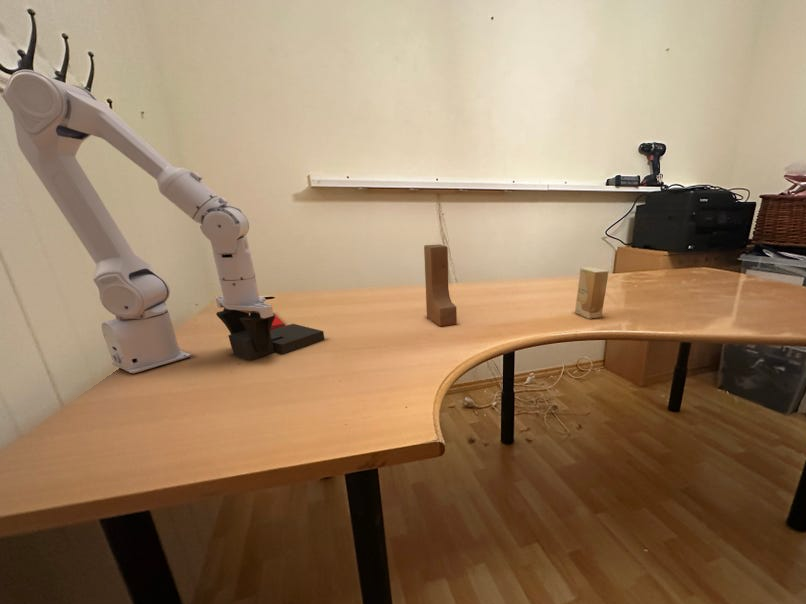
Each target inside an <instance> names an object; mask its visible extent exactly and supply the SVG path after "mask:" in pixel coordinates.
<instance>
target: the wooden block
mask: <svg viewBox="0 0 806 604" xmlns="http://www.w3.org/2000/svg"><path fill="white" fill-rule="evenodd" d="M448 250H449V248H448V246H447V245H443V244H425V245H424V246H423V254H424V256H423V257H424V277H425V280H424V281H425V304H426V317H427V318H428V319H429V320H431V321H432V322H434V323H435V324H437V325H438V326H439V327H444V326H451V325H453V326H454V325H457V320H458V319H457V316H458V315H457V306H456V305H455V303H453V302H452V298H451V296H450V290H449V253H448V252H449V251H448Z"/></svg>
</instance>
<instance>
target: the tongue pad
mask: <svg viewBox="0 0 806 604" xmlns="http://www.w3.org/2000/svg"><path fill="white" fill-rule="evenodd" d="M228 339H229V344H230V347H231V352H232V354H233V355H234V356H237V357H239V358H243V359H244V360H248V361H253V360H256V359H258V358H261V357H264V356H266V355H269V354H272V353H275V351H274V348H273V343H272V341H275V340H278V339H281V338H280V336H277V335H273V334H272V335H271V334H269V344H268V350H265V351H262V352H259V353H258V352H256V351H255V349H254V346H253V344H252V341H251V338H250V335H249V333H248V331H247V330H244V331H241V332H238V333H234V334H231V333H230V334H228Z"/></svg>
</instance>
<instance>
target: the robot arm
mask: <svg viewBox="0 0 806 604" xmlns="http://www.w3.org/2000/svg"><path fill="white" fill-rule="evenodd" d="M1 98H2V99H3V100H4V102H5V104H6V106H7V107H8V108H9V110H10V112H11V113H12V117H13V118H12V119H13V123H14V129H15V134H16V140H17V145H18V147H19V149H20V151H21V153H22V155H23V156H24V158H25V159H26V161H27V163H29V165H30V167H31V168H32V170H33V171H34V173H35V174H36V176H37V178H38V179H39V180H40V182H41V184H42V185H43V187H44V188H45V189H46V191H47V193H48V194H49V195H50V197H51V198H52V200H53V201H54V203H55V204H56V206H57V208H58V209H59V210H60V212H61V214H62V215H63V216H64V218H65V219H66V221H67V223H68V225H69V226H70V227H71V228H72V230H73V232H74V233H75V235H76V236H77V238H78V240H80V242H81V244H82V245H83V247H84V248H85V250H86V252H87V253H88V254H89V256H90V257H91V259H92V260H93V262H94V263H95V269H94V272H93V277H92V280H93V282H94V284H95V285H96V287H97V288H98V292H99V300H100V303H101V305H102V306H103V308H105V310H107V311H108V312H109V313H111V314H112V315H113V316H115V318H113V319H110V320H106V321H103V322H102V323H101V331H102V334H103V338H104V341H105V344H106V346H107V348H108V352H109V354H110V358H111V361H112V362H111V363H112V365H113V366H114V367H117V368H119V369H122V370H123V371H126V372H128V373H129V374H136V373H140V372H143V371H147V370H151V369H153V368H157V367H160V366H164V365H167V364H171V363H174V362H177V361H181V360H185V359H187V358H191V357H192V354H191V353H189V352H186V351H184V350H180V347H179V342H178V338H177V336H176V333H175V329H174V326H173V323H172V322H173V321H172V319H171V315H170V311H169V309H168V306H167V303H166V302H167V301H168V299H169V298H170V293H171V289H170V286H169V284H168V283H167V281H166V279H165V278H163V277H162V276H161V275H159V274H158V273H157V272H155V270H154V269H153V268H152V266H151V264H150V263H149V262H147V261H146V260H145V259H143V258H141V257H139V256H138V255H137V254H135V252H134V251H133V249H132V248H131V245H130V244H129V243H128V241H127V239H126V238H125V236H124V234H123V233H122V231H121V230H120V228H119V226H118V225H117V222H116V221H115V220H114V218H113V217H112V215H111V213H110V212H109V210H108V209H107V207H106V205H105V204H104V202H103V200H102V199H101V197H100V196H99V194H98V192H97V190H96V189H95V187H94V186H93V184H92V182H91V181H90V179H89V177H88V176H87V174H86V173H85V171H84V169H83V167H82V166H81V164H80V163H79V162H78V161H79V160H77V158H76V155H77V153H78V151H79V149H80V147H81V145H82V144H83V143H84V142H85V141H86V140H88V138H90V137H91V136H93V137H96V138H100V139H102V140H104V141H105V142H106V143H108V144H109V145H110V146H112V147H113V148H115V149H116V150H117V151H118V152H120V153H121V154H122V155H123V156H125V157H126V158H128V159H129V160H130V161H131V162H132V163H134V164H135V165H137V167H139V168H140V169H142V171H144V172H146V174H148V175H149V176H150V177H152V178H154V180H155V181H156V182H157V186H158V191H159V193H160V194H161V195H162V196H164V197H165V198H166V199H167V200H168V201H170V202H171V203H172V204H174V206H176V207H177V208H178V209H180V211H182V212H183V213H184V214H185V215H187V216H188V217H189V218H191V220H193V221H194V222H195V223H196V224H197V223H198V224H200V225H199V228H200V231H201V233H202V234H203V235H204V236H205V238H206V239H207V240H208V241H210V244H211V249H212V254H213V258H214V263H215V267H216V268H215V269H216V271H217V275H218V280H219V285H220V289H221V292H222V295H220V296H216V297H215V301H216V305H217V308H219V309H221V308H223V309H222V310H221V311H217V312H216V313H215V314H216V317H217V318H218V319H220V320H221V322H222V323H223V324H224V325H225V326H226V329H227V330H228V331H229V333H230V335H231V334H234V333H238V332H241V331H244V330H247V331H248V333H249V335H250V338H251V341H252V344H253V346H254V349H255V351H256V352H258V353H259V352H262V351H265V350H268V344H269V334H270V329H271V326H272V323H273V321H274V319H275V315H276V314H275V313H274V311H273V306H272V305H270V304H268V303H266V297H264V296H260V294H259V289H258V284H257V278H256V273H255V267H254V263H253V258H252V254H251V253H252V252H251V251H250V250H251V249H250V246H249V240H248V237H247V235H248V233H249V230H250V223H249V220H248V218H247V216H246V215H245V214H244V213H243V211H242V210H241V209H240V208H239V207H236V206H234V205H228V203H229V201H228V200H227V198H225V197H224V196H221V197H220V196H219V195H218V194H216V193H215V192H214V191H213V189H211V188H210V187H208V186H207V185H206V184H205V183H204V182H203V181H201V180H202V179H203V176H201V175H200V174H199V173H198V172H197V171H190V170H189V169H188V168H186V167H174V166H173V165H172V164H171V163H170V162H169V161H168V160H167V159H165V158H164V157H163V156H162V155H161V153H159V152H158V151H157V150H156V149H154V148H153V146H151V145H150V144H149V143H148V142H147V141H146V140H144V139H143V137H141V136H140V135H139V134H138V133H137V131H135V130H134V129H133V128H132V127H130V125H129V124H128V123H126V122H125V121H124V119H122V118H121V117H120V116H119V115H118V114H117V113H116V112H115V111H114V110H113V109H112V108H111V107H110V106H108V105H107V104H105V103H104V102H103V101H101V100H98V98H97V97H96V96H95V95H94V94H93V93H92V92H90V91H89V90H87V89H86V88H84V87H81V86H80V85H79V86H78V85H76V84H75V85H74V84H69V83H67V82H64V81H61V80H58V79H55V78H52V77H51V76H47V75H46V74H44V73H42V72H39V71H36V70H33V69H20V70H17V71H15V72H13V73H12V74H11V75H10V77H9V79H8V81H7V82H6V85H5V87H4V89H3V91H2V92H1ZM273 313H274V314H275V315H274V314H273ZM249 314H250V316H249Z"/></svg>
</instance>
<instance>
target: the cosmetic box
mask: <svg viewBox="0 0 806 604" xmlns="http://www.w3.org/2000/svg"><path fill="white" fill-rule="evenodd" d="M608 277H609V271H608V270H607V269H602V268H598V267H594V266H587V267H581V268H580V271H579V277H578V287H577V294H576V302H575V309H574V313H575V314H577V315H579V316H582V317H584V318H586V319H588V320H591V319H598V318H602V316H603V309H604V303H605V298H606V297H605V296H606V290H607V284H608Z"/></svg>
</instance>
